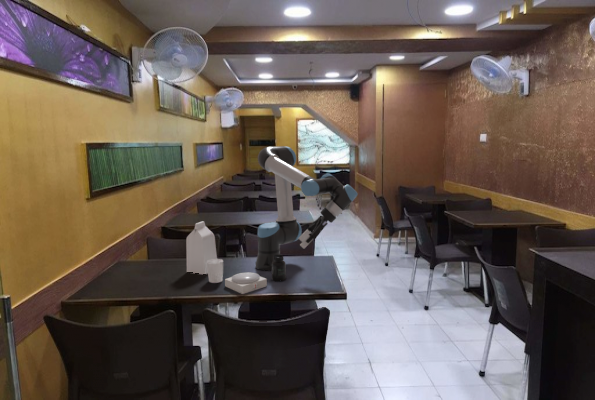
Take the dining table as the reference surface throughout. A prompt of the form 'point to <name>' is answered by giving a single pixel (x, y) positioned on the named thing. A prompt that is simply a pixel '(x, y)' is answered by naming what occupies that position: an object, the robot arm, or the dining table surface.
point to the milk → (200, 248)
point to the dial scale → (245, 282)
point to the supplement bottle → (278, 268)
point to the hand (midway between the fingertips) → (300, 243)
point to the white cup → (215, 270)
